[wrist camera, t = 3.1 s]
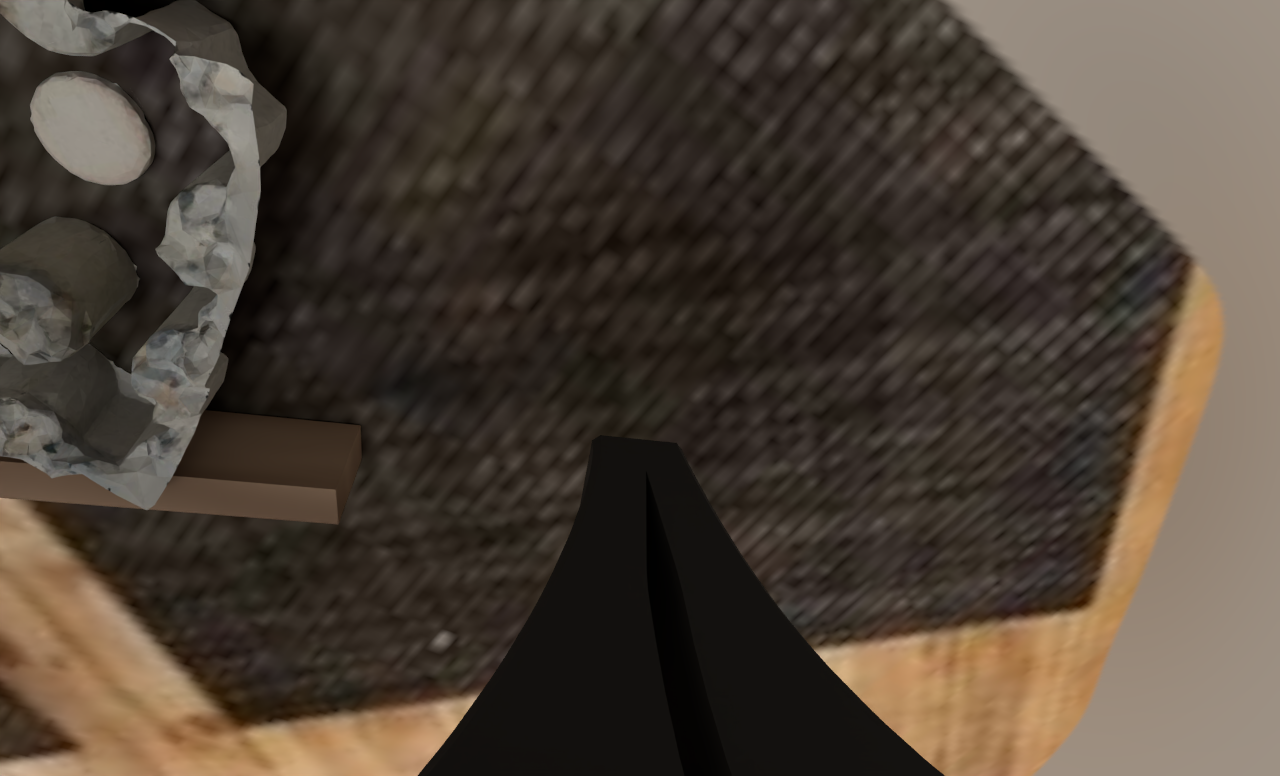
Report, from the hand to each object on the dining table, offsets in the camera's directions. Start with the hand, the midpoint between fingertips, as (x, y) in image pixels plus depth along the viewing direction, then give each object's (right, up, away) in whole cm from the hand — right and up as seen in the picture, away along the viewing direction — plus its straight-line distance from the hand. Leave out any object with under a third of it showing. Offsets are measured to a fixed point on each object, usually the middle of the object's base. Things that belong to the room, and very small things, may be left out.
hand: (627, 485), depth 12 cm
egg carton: (-12, +6, +5) cm, 14 cm away
